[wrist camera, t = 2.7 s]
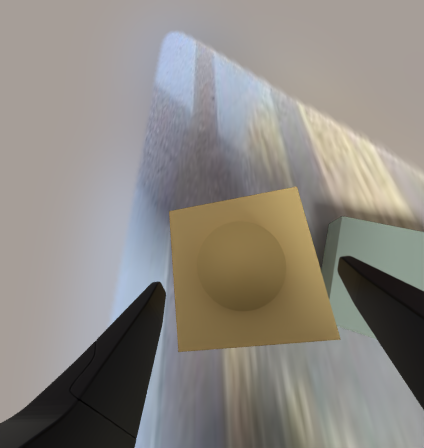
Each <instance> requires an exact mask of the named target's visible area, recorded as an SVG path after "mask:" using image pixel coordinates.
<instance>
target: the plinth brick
mask: <svg viewBox="0 0 424 448" xmlns="http://www.w3.org/2000/svg"><path fill="white" fill-rule="evenodd" d="M341 256H352V257H354V258H356V259H358V260H360V261H363V262H365V263H367V264H369V265H371V266H373V267H375V268H377V269H379V270H381V271H383V272H385V273H387V274H389V275H391V276H394V277H396V278H398V279H400V280H402V281H404V282H406V283H408V284H410V285H412V286H414V287H416V288H418V289H420V290H422V291H424V232H421V231H416V230H410V229H405V228H400V227H395V226H390V225H385V224H380V223H375V222H370V221H365V220H360V219H355V218H349V217H344V216H341V217H340V218H338V219H336V220H335V221H333V222H332V223H330V224H329V226H328V232H327V238H326V244H325V251H324V257H323V263H322V269H321V273H322V276H323V280H324V283H325V287H326V290H327V294H328V297H329V301H330V304H331V308H332V311H333V315H334V318H335V322H336V325H337V326H338V327H341V328H344V329H347V330H350V331H353V332H357V333H360V334H363V335H366V336H369V337H372V338H375V339H377V338H376V337H375V335H374V334H373V332H372V331H371V329H370V328H369V326H368V325H367V323H366V322H365V320H364V319H363V317H362V316H361V314H360V313H359V311H358V310H357V308H356V306H355V305H354V303H353V301H352V299H351V297H350V295H349V294H348V292H347V290H346V288H345V286H344V284H343V282H342V280H341V278H340V276H339V274H338V271H337V268H338V262H339V258H340V257H341Z"/></svg>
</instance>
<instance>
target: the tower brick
mask: <svg viewBox="0 0 424 448" xmlns="http://www.w3.org/2000/svg"><path fill="white" fill-rule="evenodd" d="M169 217H170V232H171V247H172V262H173V277H174V292H175V307H176V322H177V337H178V352H184V351H197V350H210V349H223V348H236V347H249V346H262V345H275V344H288V343H301V342H314V341H327V340H340V336H339V332H338V329H337V325H336V322H335V318H334V315H333V311H332V308H331V304H330V301H329V297H328V294H327V290H326V287H325V283H324V280H323V276H322V273H321V269H320V266H319V262H318V259H317V255H316V252H315V248H314V245H313V241H312V238H311V234H310V231H309V227H308V224H307V220H306V217H305V213H304V210H303V206H302V203H301V199H300V196H299V192H298V189H297V187H292V188H287V189H282V190H276V191H271V192H266V193H261V194H256V195H251V196H245V197H240V198H235V199H230V200H225V201H219V202H214V203H209V204H204V205H199V206H194V207H188V208H183V209H178V210H173V211H169Z"/></svg>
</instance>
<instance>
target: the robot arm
mask: <svg viewBox="0 0 424 448" xmlns="http://www.w3.org/2000/svg"><path fill="white" fill-rule="evenodd" d="M337 271H338V274H339V276H340V278H341V280H342V282H343V284H344V286H345V288H346V290H347V292H348V294H349V295H350V297H351V299H352V301H353V303H354V305H355V306H356V308H357V310H358V311H359V313H360V314H361V316H362V317H363V319H364V320H365V322H366V323H367V325H368V326H369V328H370V329H371V331H372V332H373V334H374V335H375V337H376V338H377V340H378V341H379V343H380V344H381V346H382V347H383V349H384V350H385V352H386V353H387V355H388V357H389V358H390V360H391V361H392V363H393V364H394V366H395V367H396V369H397V370H398V372H399V373H400V375H401V376H402V378H403V379H404V381H405V382H406V384H407V385H408V387H409V388H410V390H411V391H412V393H413V394H414V396H415V397H416V399H417V400H418V402H419V403H420V405H421V407H422V408H423V410H424V291H422V290H420V289H418V288H416V287H414V286H412V285H410V284H408V283H406V282H404V281H402V280H400V279H398V278H396V277H394V276H391V275H389V274H387V273H385V272H383V271H381V270H379V269H377V268H375V267H373V266H371V265H369V264H367V263H365V262H363V261H360V260H358V259H356V258H354V257H352V256H341V257H340V258H339V262H338V268H337ZM165 299H166V292H165V290H164V288H163V286H162V284H161V282H153V283H151V284H150V285H149V286H148V287H147V288H146V289H145V290H144V291H143V292H142V293H141V294H140V295H139V297H138V298H137V299H136V300H135V301H134V302H133V303H132V304H131V305H130V306H129V307H128V308H127V309H126V310H125V311H124V312H123V313H122V314H121V315H120V316H119V317H118V318H117V319H116V320H115V321H114V322H113V323H112V324H111V325H110V326H109V327H108V328H107V329H106V331H105V332H104V333H103V334H102V335H101V336H100V337H99V338H98V339H97V341H95V342H94V343H93V344H92V345H91V346H90V347H89V348H88V349H87V350H86V351H85V352H84V353H83V354H82V355H81V356H80V357H79V358H78V359H77V360H76V361H75V362H74V363H73V364H72V365H71V366H70V367H69V368H68V369H67V370H66V371H64V372H63V373H62V374H61V375H60V376H59V377H58V378H57V379H56V380H55V381H54V382H52V384H50V385H49V386H48V387H47V388H46V389H45V390H44V391H43V392H42V393H41V394H39V395H38V396H37V397H36V398H35V399H34V400H33V401H32V402H31V403H30V404H29V405H27V406H26V407H25V408H24V409H23V410H21V411H20V412H19V413H17V414H15V415H14V416H12V417H11V418H9V419H8V420H6V421H4V422H2V423H0V448H134V447H135V443H136V438H137V434H138V429H139V425H140V420H141V416H142V412H143V407H144V403H145V398H146V394H147V390H148V385H149V381H150V376H151V372H152V368H153V363H154V359H155V354H156V350H157V346H158V341H159V337H160V332H161V328H162V323H163V315H164V307H165Z"/></svg>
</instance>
